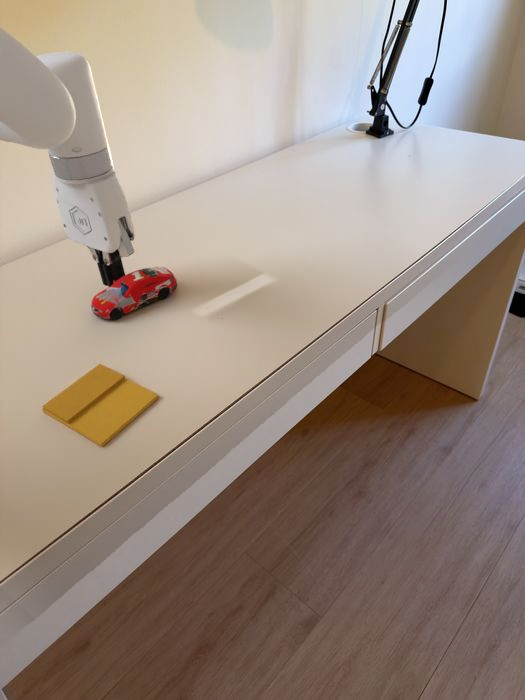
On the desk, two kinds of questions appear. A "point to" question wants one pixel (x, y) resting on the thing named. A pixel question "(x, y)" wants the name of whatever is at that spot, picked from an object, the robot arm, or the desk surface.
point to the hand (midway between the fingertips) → (115, 282)
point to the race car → (133, 292)
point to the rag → (100, 404)
